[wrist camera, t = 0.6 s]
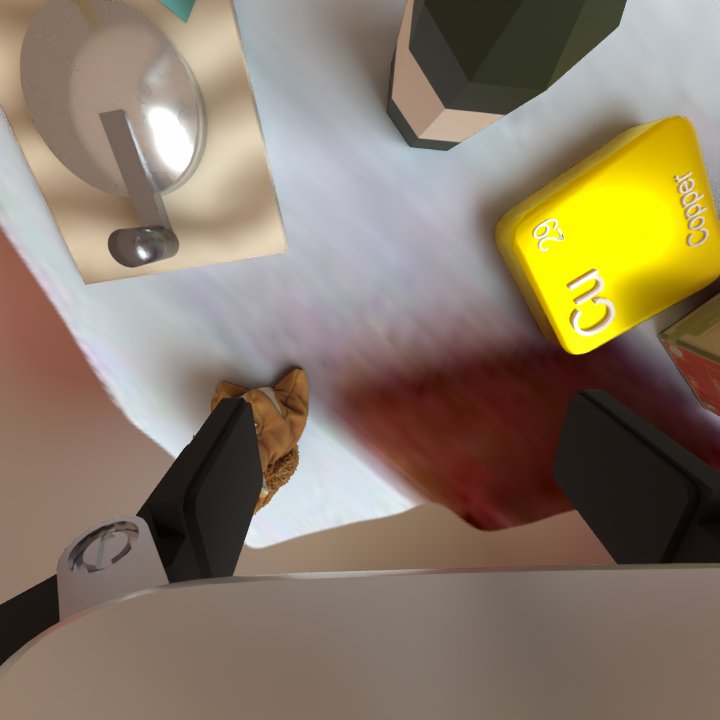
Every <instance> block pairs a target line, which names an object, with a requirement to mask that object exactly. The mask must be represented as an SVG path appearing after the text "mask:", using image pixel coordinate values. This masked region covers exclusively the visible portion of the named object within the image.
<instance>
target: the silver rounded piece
mask: <svg viewBox="0 0 720 720" xmlns="http://www.w3.org/2000/svg"><path fill="white" fill-rule="evenodd" d="M20 79H21V85H22V91H23V95H24V99H25V102H26V106H27V109H28V111H29V114H30V116H31V119H32V121H33V123H34V125H35V127H36V129H37V131H38V133H39V134H40V136H41V137H42V139H43V141H44V142H45V144H46V145H47V146H48V148H49V149H50V150H51V152H52V153H53V154H54V155H55V156H56V158H57V159H58V160H59V161H60V162H61V163H62V164H63V165H64V166H65V167H66V168H67V169H69V170H70V171H71V172H72V173H73V174H74V175H76V176H77V177H79V178H80V179H81V180H83V181H84V182H86V183H88V184H89V185H91V186H93V187H95V188H97V189H99V190H102V191H104V192H107V193H110V194H113V195H119V196H124V197H130V198H131V201H132V204H133V206H134V209H135V212H136V214H137V217H138V219H139V222H140V225H141V227H137V228H126V229H118V230H115V231H113V232H112V233H111V234H110V236H109V238H108V249H109V252H110V254H111V256H112V257H113V258H114V259H115V260H116V261H117V262H118V263H119V264H121V265H123V266H125V267H129V268H135V267H139V266H142V265H146V264H150V263H153V262H157V261H161V260H164V259H168V258H171V257H173V256H175V255H176V254H177V252H178V250H179V241H178V238H177V236H176V235H175V233H174V232H173V229H172V226H171V223H170V220H169V217H168V215H167V212H166V209H165V206H164V203H163V200H162V197H161V196H163V195H167V194H169V193H171V192H173V191H175V190H177V189H178V188H180V187H182V186H183V185H184V184H185V183H186V182H187V181H188V180H189V179H190V178H191V177H192V176H193V174H194V173H195V171H196V170H197V168H198V166H199V165H200V162H201V160H202V157H203V154H204V150H205V146H206V140H207V115H206V108H205V103H204V99H203V95H202V92H201V89H200V86H199V84H198V81H197V79H196V77H195V75H194V72H193V71H192V69H191V67H190V65H189V64H188V62H187V60H186V59H185V58H184V56H183V55H182V53H181V52H180V51H179V49H178V48H177V47H176V46H175V45H174V44H173V42H172V41H171V40H170V39H169V38H168V37H167V36H166V35H164V34H163V33H162V32H161V31H160V30H159V29H158V28H157V27H156V26H155V25H153V24H152V23H151V22H150V21H149V20H148V19H147V18H146V17H145V16H143V15H142V14H141V13H139V12H138V11H137V10H135V9H134V8H132V7H131V6H129V5H127V4H125V3H123V2H122V1H120V0H52V1H50V2H49V3H47V4H46V5H45V6H44V7H43V8H41V9H40V10H39V12H38V13H37V14H36V15H35V16H34V18H33V19H32V21H31V23H30V24H29V26H28V28H27V31H26V33H25V36H24V39H23V43H22V48H21V53H20Z"/></svg>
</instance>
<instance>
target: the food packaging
mask: <svg viewBox="0 0 720 720" xmlns="http://www.w3.org/2000/svg"><path fill="white" fill-rule="evenodd" d="M657 337H658V338H659V340H660V341H661V343H662V344H663V346H664V347H665V349H666V351H667V352H668V354H669V355H670V356H671V358H672V360H673V361H674V363H675V365H676V366H677V368H678V370H679V371H680V373H681V374H682V376H683V377H684V379H685V380H686V382H687V383H688V384H689V386H690V387H691V388H692V390H693V392H694V394H695V395H696V397H697V399H698V400H699V401H700V403H701V404H702V406H703V407H704V408H705V409H707V410H709V411H711V412H713V413H714V414H716V415H718V416H720V292H719V293H718V294H716V295H715V296H714V297H712V298H711V299H709V300H708V301H707V302H705V303H704V304H702V305H701V306H700V307H698V308H697V309H695V310H694V311H692V312H691V313H689V314H688V315H686V316H685V317H684V318H682V319H681V320H679V321H678V322H676V323H675V324H673V325H672V326H670V327H669V328H668V329H666V330H665V331H663V332H662V333H660V334H659V335H658V336H657Z"/></svg>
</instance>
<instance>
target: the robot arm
mask: <svg viewBox="0 0 720 720" xmlns="http://www.w3.org/2000/svg"><path fill="white" fill-rule="evenodd" d="M552 472H553V477H554V480H555V481H556V483H557V484H558V485H559V487H560V488H561V489H562V491H563V492H564V493H565V495H566V496H567V497H568V499H569V500H570V501H571V503H572V504H573V505H574V507H575V508H576V510H577V511H578V512H579V514H580V515H581V516H582V518H583V519H584V520H585V522H586V523H587V524H588V526H589V527H590V528H591V530H592V531H593V532H594V534H595V535H596V536H597V538H598V539H599V540H600V541H601V543H602V544H603V546H604V547H605V548H606V550H607V551H608V552H609V554H610V555H611V556H612V558H613V559H614V560H615V562H616V563H617V564H618V565H567V566H530V567H529V566H528V567H527V566H526V567H490V568H489V567H485V568H451V569H450V568H449V569H413V570H412V569H411V570H382V571H380V570H379V571H350V572H349V571H347V572H317V573H292V574H272V575H251V576H233V573H234V570H235V567H236V564H237V561H238V558H239V555H240V552H241V549H242V546H243V543H244V540H245V537H246V534H247V531H248V528H249V525H250V522H251V519H252V517H253V514H254V511H255V508H256V505H257V502H258V499H259V496H260V493H261V490H262V486H263V472H262V466H261V459H260V453H259V447H258V440H257V434H256V428H255V421H254V415H253V409H252V404H251V403H250V402H246V401H245V399H244V398H243V397H236V398H222V399H221V400H220V402H219V403H218V405H217V406H216V407H215V409H214V410H213V412H212V413H211V414H210V416H209V417H208V419H207V420H206V421H205V423H204V424H203V426H202V427H201V428H200V430H199V431H198V433H197V434H196V435H195V437H194V438H193V440H192V441H191V442H190V444H188V445H187V446H186V447H185V448H184V449H183V451H182V452H181V453H180V455H179V456H178V458H177V459H176V460H175V462H174V463H173V464H172V466H171V467H170V469H169V470H168V471H167V473H166V474H165V476H164V477H163V478H162V480H161V481H160V483H159V484H158V485H157V487H156V488H155V489H154V491H153V492H152V494H151V495H150V496H149V498H148V499H147V501H146V502H145V503H144V505H143V506H142V507H141V509H140V510H139V512H138V513H137V514H136V516H133V515H123V516H118V517H113V518H110V519H107V520H105V521H102V522H99V523H98V524H96V525H94V526H92V527H90V528H88V529H87V530H85V531H84V532H83V533H81V534H80V535H79V536H77V537H76V538H75V539H74V540H73V541H72V542H71V543H70V544H69V545H68V546H67V547H66V548H65V549H64V551H63V553H62V555H61V556H60V558H59V560H58V564H57V574H56V575H54V576H52V577H51V578H49V579H47V580H45V581H43V582H41V583H39V584H38V585H36V586H34V587H32V588H30V589H28V590H27V591H25V592H23V593H21V594H19V595H17V596H16V597H14V598H12V599H10V600H8V601H6V602H5V603H3V604H1V605H0V720H720V473H718V472H717V471H716V470H714V469H713V468H711V467H710V466H709V465H707V464H706V463H704V462H703V461H702V460H700V459H699V458H697V457H696V456H695V455H693V454H692V453H690V452H689V451H688V450H686V449H685V448H683V447H682V446H681V445H679V444H678V443H676V442H675V441H674V440H672V439H671V438H669V437H668V436H667V435H665V434H664V433H662V432H661V431H660V430H658V429H657V428H655V427H654V426H653V425H651V424H650V423H648V422H647V421H646V420H644V419H643V418H641V417H640V416H639V415H637V414H636V413H634V412H633V411H632V410H630V409H629V408H627V407H626V406H625V405H623V404H622V403H620V402H619V401H618V400H616V399H615V398H613V397H612V396H611V395H609V394H608V393H606V392H605V391H603V390H580V391H578V392H577V393H576V394H575V395H573V396H572V397H571V398H570V401H569V405H568V409H567V413H566V417H565V421H564V425H563V429H562V433H561V437H560V441H559V445H558V449H557V453H556V457H555V461H554V465H553V470H552Z"/></svg>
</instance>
